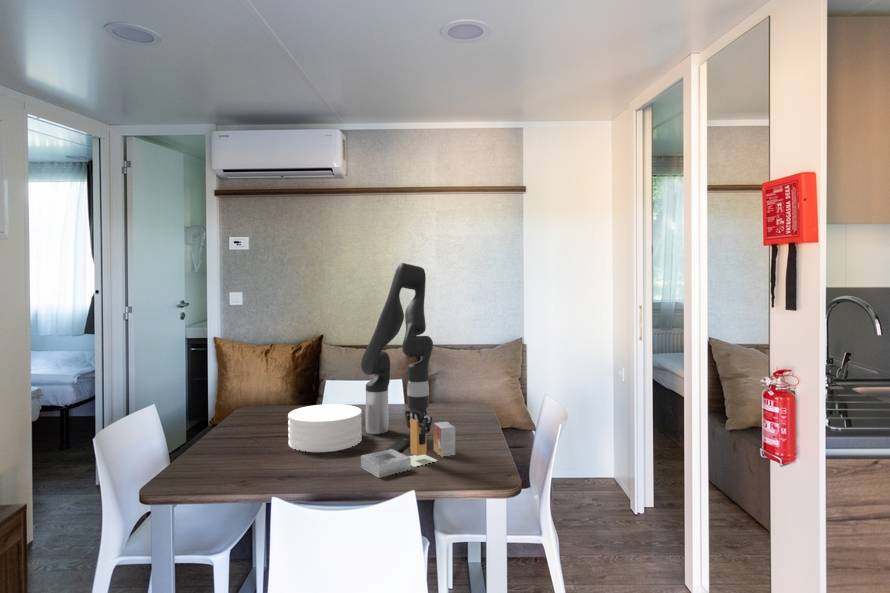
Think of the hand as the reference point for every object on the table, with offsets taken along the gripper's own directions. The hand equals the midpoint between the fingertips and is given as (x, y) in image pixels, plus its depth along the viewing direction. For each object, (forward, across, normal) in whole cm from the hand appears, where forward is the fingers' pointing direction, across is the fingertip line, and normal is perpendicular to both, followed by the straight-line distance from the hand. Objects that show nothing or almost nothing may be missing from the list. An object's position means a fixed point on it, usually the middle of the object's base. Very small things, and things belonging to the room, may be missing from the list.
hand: (418, 442), depth 187 cm
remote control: (+7, +18, -4) cm, 20 cm away
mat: (+6, 0, 0) cm, 6 cm away
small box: (+7, +1, -12) cm, 14 cm away
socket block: (+6, 0, +13) cm, 15 cm away
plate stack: (+7, +42, +16) cm, 45 cm away
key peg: (+4, 0, 0) cm, 4 cm away
